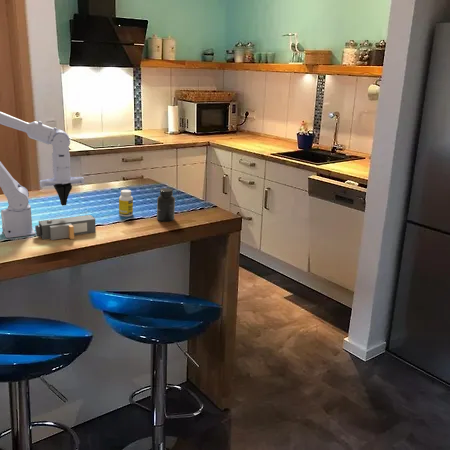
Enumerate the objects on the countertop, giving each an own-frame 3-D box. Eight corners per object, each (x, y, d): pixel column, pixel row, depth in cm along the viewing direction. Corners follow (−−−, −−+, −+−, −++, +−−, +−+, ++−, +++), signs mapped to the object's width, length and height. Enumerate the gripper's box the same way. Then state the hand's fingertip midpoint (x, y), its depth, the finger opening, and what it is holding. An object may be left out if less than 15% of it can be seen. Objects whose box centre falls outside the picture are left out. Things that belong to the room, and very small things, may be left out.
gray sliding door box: (38, 240, 166) (37, 224, 164) (35, 235, 170) (34, 219, 169) (95, 232, 176) (95, 217, 174) (91, 227, 180) (90, 213, 179)
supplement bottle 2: (153, 220, 192) (153, 190, 188) (162, 215, 198) (162, 186, 194) (169, 223, 190) (170, 193, 186) (177, 218, 196) (178, 189, 192)
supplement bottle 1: (129, 217, 194) (129, 193, 190) (116, 216, 195) (116, 191, 191) (135, 213, 199) (135, 189, 195) (122, 212, 200) (121, 188, 196)
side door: (53, 241, 165) (52, 229, 164) (50, 238, 168) (49, 226, 166) (74, 238, 169) (73, 226, 167) (71, 235, 171) (70, 223, 170)
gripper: (42, 170, 162) (44, 210, 167) (86, 167, 170) (87, 205, 174) (37, 165, 168) (39, 204, 172) (80, 163, 176) (81, 200, 180)
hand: (63, 204), depth 174 cm, fingers closed
